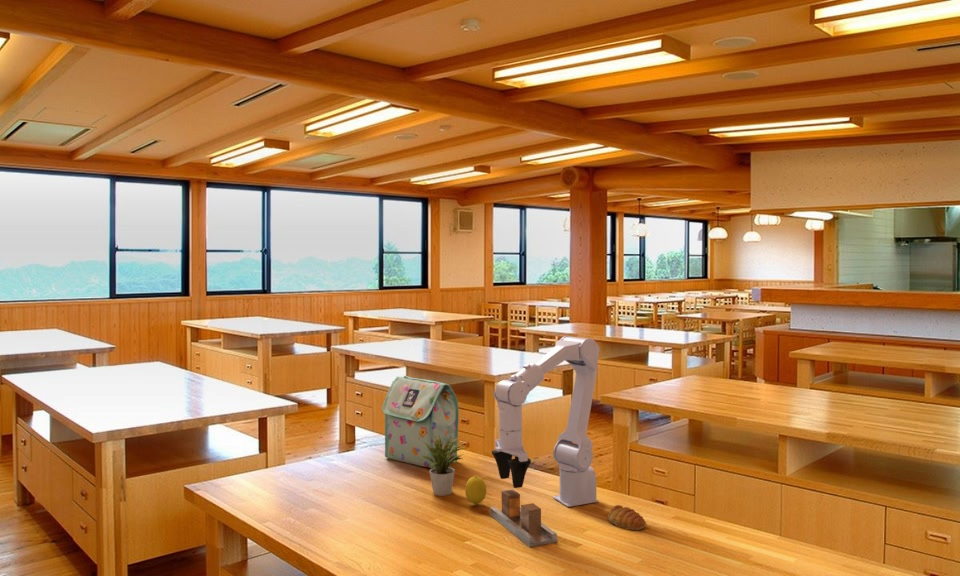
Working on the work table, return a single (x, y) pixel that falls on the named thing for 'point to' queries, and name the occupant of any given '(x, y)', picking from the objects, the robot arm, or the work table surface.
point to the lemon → (475, 490)
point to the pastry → (626, 518)
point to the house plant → (442, 466)
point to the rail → (522, 532)
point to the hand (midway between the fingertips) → (511, 482)
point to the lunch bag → (419, 419)
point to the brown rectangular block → (511, 504)
